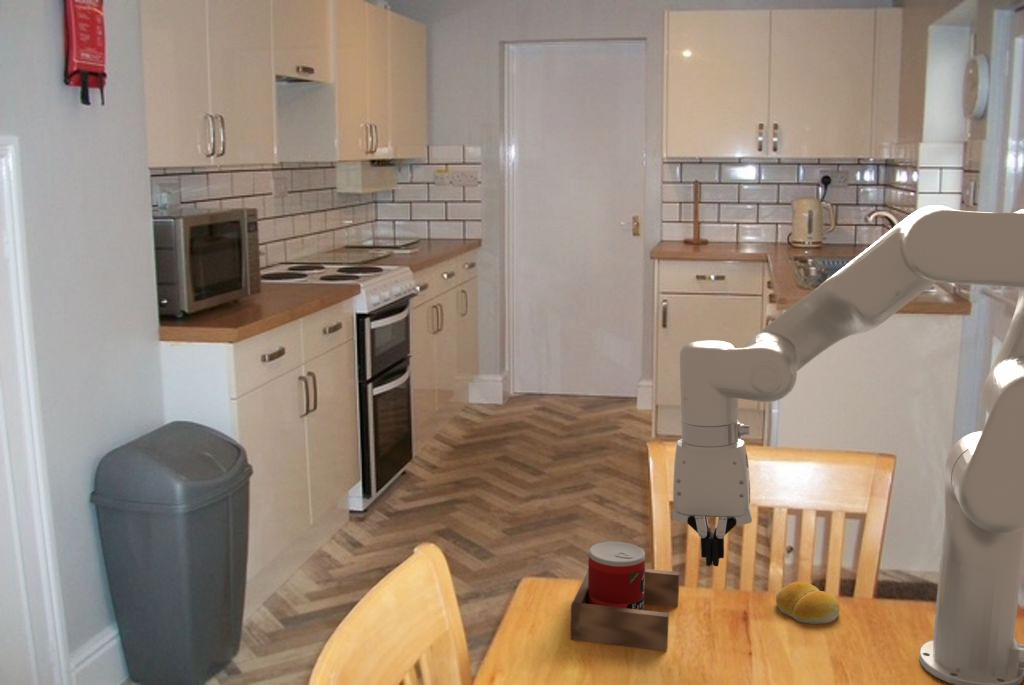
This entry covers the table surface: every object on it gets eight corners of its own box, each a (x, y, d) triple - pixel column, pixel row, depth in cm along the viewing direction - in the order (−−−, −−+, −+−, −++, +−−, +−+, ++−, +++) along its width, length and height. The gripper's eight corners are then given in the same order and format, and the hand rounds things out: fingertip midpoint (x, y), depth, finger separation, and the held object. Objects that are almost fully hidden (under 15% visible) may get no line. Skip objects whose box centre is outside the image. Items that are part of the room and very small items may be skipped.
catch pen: (678, 603, 157) (679, 572, 156) (666, 651, 143) (667, 616, 142) (590, 594, 161) (591, 563, 160) (570, 639, 146) (571, 605, 145)
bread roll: (813, 631, 149) (815, 605, 148) (766, 608, 156) (767, 582, 156) (852, 617, 154) (854, 591, 153) (804, 595, 161) (806, 570, 160)
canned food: (638, 639, 146) (640, 564, 144) (581, 631, 148) (583, 558, 146) (647, 616, 153) (649, 544, 151) (593, 609, 156) (595, 538, 153)
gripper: (767, 426, 144) (769, 554, 147) (657, 425, 147) (661, 550, 151) (766, 441, 136) (768, 575, 140) (650, 439, 140) (655, 570, 144)
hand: (712, 562), depth 145 cm, fingers closed
